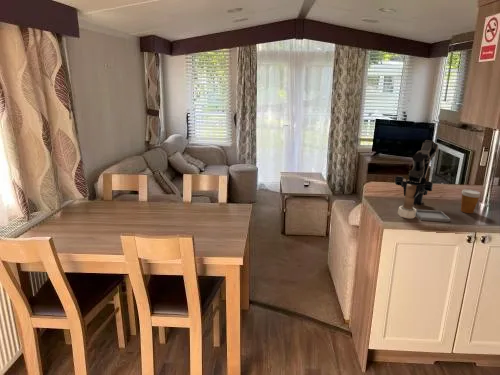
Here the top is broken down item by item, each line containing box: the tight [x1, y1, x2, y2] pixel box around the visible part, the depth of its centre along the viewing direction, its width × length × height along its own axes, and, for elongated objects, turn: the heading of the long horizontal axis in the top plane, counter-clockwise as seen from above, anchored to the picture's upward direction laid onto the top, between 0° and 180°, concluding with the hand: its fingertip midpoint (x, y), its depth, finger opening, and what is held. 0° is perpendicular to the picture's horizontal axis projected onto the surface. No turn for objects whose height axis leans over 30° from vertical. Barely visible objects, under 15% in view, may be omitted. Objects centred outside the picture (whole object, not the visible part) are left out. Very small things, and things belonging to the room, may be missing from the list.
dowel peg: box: [402, 184, 417, 209], centre depth 200 cm, size 5×5×12 cm
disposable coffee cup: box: [460, 188, 481, 214], centre depth 212 cm, size 10×10×12 cm
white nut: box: [397, 205, 418, 219], centre depth 203 cm, size 8×8×4 cm
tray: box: [415, 208, 451, 223], centre depth 203 cm, size 12×15×2 cm
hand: (409, 196), depth 199 cm, fingers closed on dowel peg, 5 cm apart
